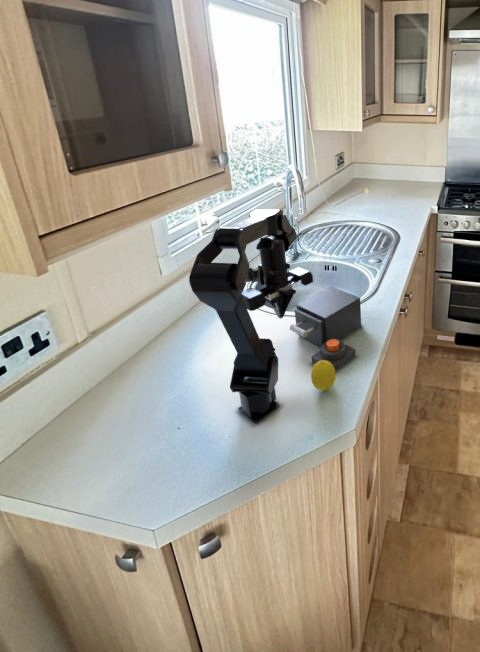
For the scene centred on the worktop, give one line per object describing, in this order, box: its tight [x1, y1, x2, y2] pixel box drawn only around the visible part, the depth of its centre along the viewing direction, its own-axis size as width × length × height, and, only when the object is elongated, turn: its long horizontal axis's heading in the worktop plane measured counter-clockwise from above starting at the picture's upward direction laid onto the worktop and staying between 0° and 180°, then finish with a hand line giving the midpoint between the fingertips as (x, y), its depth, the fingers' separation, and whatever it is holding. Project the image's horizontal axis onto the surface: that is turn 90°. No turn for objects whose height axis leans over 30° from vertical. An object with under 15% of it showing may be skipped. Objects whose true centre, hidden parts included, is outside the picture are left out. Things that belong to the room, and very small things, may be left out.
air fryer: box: [295, 286, 362, 342], centre depth 116 cm, size 14×12×10 cm
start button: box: [327, 339, 340, 352], centre depth 103 cm, size 3×3×2 cm
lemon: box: [310, 360, 337, 391], centre depth 93 cm, size 6×6×8 cm
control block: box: [310, 340, 357, 372], centre depth 104 cm, size 9×7×4 cm
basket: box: [289, 307, 325, 348], centre depth 113 cm, size 16×10×8 cm, turn 141°
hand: (280, 317), depth 102 cm, fingers closed
